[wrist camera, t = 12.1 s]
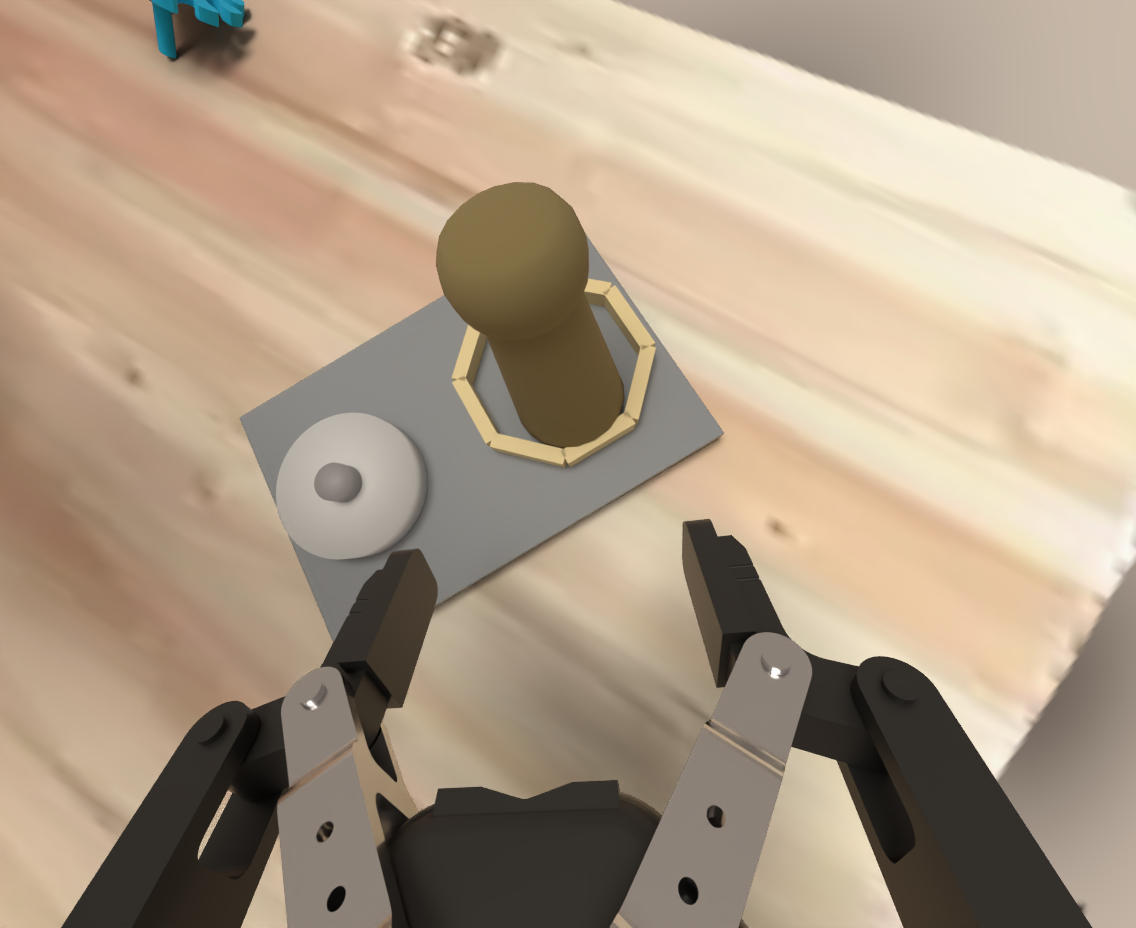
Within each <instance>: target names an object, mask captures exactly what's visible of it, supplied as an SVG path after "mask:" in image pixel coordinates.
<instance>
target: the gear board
mask: <svg viewBox="0 0 1136 928" xmlns="http://www.w3.org/2000/svg"><path fill="white" fill-rule="evenodd" d="M586 237H587V235H586ZM587 243H588V248H589V274H588V283H587V285H586V288H585V291H584V293H585V296H586V298H587V300H588V303H589V305H590V307H591V310H592V312H593V314H594V317H595V319H596V321H597V324H598V326H599V328H600V331H601V333H602V335H603V337H604V340H605V342H606V344H607V347H608V349H609V351H610V354H611V356H612V358H613V361H614V363H615V365H616V368H617V370H618V372H619V375H620V377H621V379H622V382H623V384H624V402H623V405H622V408H621V411H620V414H619V416H618V418H617V419H616V420H615V422H614V423H613V424H612V426H611V427H610V429H609V430H607V431H606V432H605V433H603V434H602V435H601V436H599V437H598V438H597V439H595V440H593V441H591V442H588V443H585V444H583V445H580V446H576V447H563V448H559V447H555V446H551V445H546V444H543V443H542V442H540V441H538V440H537V439H535V438H534V437H532V436H531V435H530V434H529V433H528V432H527V430H526V429H525V428H524V426H523V425H522V424H521V421H520V419H519V416H518V414H517V411H516V409H515V406H514V404H513V401H512V399H511V396H510V394H509V391H508V389H507V386H506V384H505V381H504V379H503V376H502V374H501V372H500V369H499V367H498V364H497V362H496V359H495V357H494V354H493V352H492V349H491V347H490V344H489V342H488V339H487V337H486V335H484V334H482V333H480V332H478V331H476V330H475V329H473V328H472V327H471V326H469V325H468V324H467V323H466V322H464V321H463V319H462V318H461V317H460V316H459V314H458V313H457V312H456V311H455V310H454V308H453V307H452V306H451V304H450V303H449V301H448V300H447V298H446V297H445V295H444V296H442V297H440V298H439V299H437V300H435V301H434V302H432V303H430V304H429V305H427V306H425V307H424V308H422V309H420V310H419V311H417V312H415V313H414V314H412V315H410V316H409V317H407V318H405V319H404V320H402V321H400V322H399V323H397V324H395V325H394V326H392V327H390V328H389V329H387V330H385V331H384V332H382V333H380V334H379V335H377V336H375V337H374V338H372V339H370V340H369V341H367V342H365V343H364V344H362V345H360V346H358V347H357V348H355V349H353V350H352V351H350V352H348V353H347V354H345V355H343V356H342V357H340V358H338V359H337V360H335V361H333V362H332V363H330V364H328V365H327V366H325V367H323V368H322V369H320V370H318V371H317V372H315V373H313V374H312V375H310V376H308V377H307V378H305V379H303V380H302V381H300V382H298V383H297V384H295V385H293V386H292V387H290V388H288V389H287V390H285V391H283V392H282V393H280V394H278V395H277V396H275V397H273V398H272V399H270V400H268V401H267V402H265V403H263V404H261V405H260V406H258V407H256V408H255V409H253V410H251V411H250V412H248V413H246V414H245V415H243V416H241V417H240V420H241V423H242V425H243V428H244V430H245V432H246V435H247V437H248V439H249V442H250V444H251V447H252V449H253V451H254V454H255V456H256V459H257V461H258V463H259V466H260V468H261V471H262V473H263V475H264V478H265V480H266V483H267V485H268V487H269V490H270V492H271V495H272V497H273V499H274V502H275V504H276V506H277V509H278V514H279V517H280V520H281V522H282V524H283V526H284V528H285V530H286V532H287V533H288V535H289V538H290V540H291V542H292V545H293V547H294V550H295V552H296V554H297V557H298V559H299V562H300V564H301V566H302V569H303V571H304V573H305V576H306V578H307V581H308V583H309V585H310V588H311V590H312V593H313V595H314V597H315V600H316V602H317V605H318V607H319V609H320V612H321V614H322V617H323V619H324V621H325V624H326V626H327V629H328V631H329V633H330V636H331V638H332V641H333V643H334V641H335V639H336V637H337V635H338V633H339V631H340V629H341V627H342V625H343V623H344V621H345V619H346V617H347V616H349V611H350V610H351V608H352V606H353V604H354V603H356V598H357V596H358V594H359V592H360V590H361V588H362V586H363V584H364V583H365V582H366V581H367V580H368V579H369V578H370V577H371V576H372V575H373V574H374V573H375V571H376V570H381V569H383V568H384V566H385V564H386V561H387V559H388V557H389V555H390V554H391V553H392V552H393V551H399V550H408V549H420V550H421V551H422V553H423V555H424V557H425V559H426V561H427V563H428V565H429V567H430V569H431V571H432V573H433V575H434V577H435V579H436V582H437V586H438V596H437V601H436V604H435V607H436V606H438V605H439V604H441V603H443V602H444V601H446V600H448V599H449V598H451V597H453V596H454V595H456V594H458V593H459V592H461V591H463V590H464V589H466V588H468V587H469V586H471V585H473V584H475V583H476V582H478V581H480V580H481V579H483V578H485V577H486V576H488V575H490V574H491V573H493V572H495V571H496V570H498V569H500V568H501V567H503V566H505V565H506V564H508V563H510V562H511V561H513V560H515V559H517V558H518V557H520V556H522V555H523V554H525V553H527V552H528V551H530V550H532V549H533V548H535V547H537V546H538V545H540V544H542V543H543V542H545V541H547V540H548V539H550V538H552V537H553V536H555V535H557V534H559V533H560V532H562V531H564V530H565V529H567V528H569V527H570V526H572V525H574V524H575V523H577V522H579V521H580V520H582V519H584V518H585V517H587V516H589V515H590V514H592V513H594V512H595V511H597V510H599V509H600V508H602V507H604V506H606V505H607V504H609V503H611V502H612V501H614V500H616V499H617V498H619V497H621V496H622V495H624V494H626V493H627V492H629V491H631V490H632V489H634V488H636V487H637V486H639V485H641V484H642V483H644V482H646V481H648V480H649V479H651V478H653V477H654V476H656V475H658V474H659V473H661V472H663V471H664V470H666V469H668V468H669V467H671V466H673V465H674V464H676V463H678V462H679V461H681V460H683V459H684V458H686V457H688V456H690V455H691V454H693V453H695V452H696V451H698V450H700V449H701V448H703V447H705V446H706V445H708V444H710V443H711V442H713V441H715V440H716V439H718V438H719V437H720V436H722V435H723V434H724V432H723V431H722V429H721V428H720V426H719V425H718V423H717V422H716V420H715V419H714V418H713V416H712V415H711V413H710V412H709V410H708V409H707V408H706V406H705V405H704V403H703V402H702V400H701V399H700V398H699V396H698V395H697V393H696V392H695V390H694V389H693V387H692V386H691V385H690V383H689V382H688V380H687V379H686V377H685V376H684V375H683V373H682V372H681V370H680V369H679V367H678V366H677V365H676V363H675V362H674V360H673V359H672V357H671V356H670V355H669V353H668V352H667V350H666V349H665V347H664V346H663V344H662V343H661V342H660V340H659V339H658V337H657V336H656V334H655V333H654V332H653V330H652V329H651V327H650V326H649V324H648V323H647V322H646V320H645V319H644V317H643V316H642V314H641V313H640V311H639V310H638V309H637V307H636V306H635V304H634V303H633V301H632V300H631V299H630V297H629V296H628V294H627V293H626V291H625V290H624V289H623V287H622V286H621V284H620V283H619V281H618V280H617V278H616V277H615V276H614V274H613V273H612V271H611V270H610V268H609V267H608V266H607V264H606V263H605V261H604V260H603V258H602V257H601V256H600V254H599V253H598V251H597V250H596V248H595V247H594V245H593V244H592V243H591V241H590V240H589V238H588V237H587Z"/></svg>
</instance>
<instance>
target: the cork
mask: <svg viewBox="0 0 1136 928" xmlns="http://www.w3.org/2000/svg"><path fill="white" fill-rule="evenodd" d="M436 267H437V271H438V275H439V280H440V283H441V286H442V289H443V292H444V295H445V297H446V298H447V300H448V301H449V303H450V304H451V306H452V307H453V308H454V310H455V311H456V312H457V313H458V314H459V316H460V317H461V318H462V319H463V321H464V322H466V323H467V324H468V325H469V326H471V327H472V328H473V329H475V330H476V331H478V332H480V333H482V334H484V335H486V337H487V339H488V342H489V344H490V347H491V349H492V352H493V354H494V357H495V359H496V362H497V364H498V367H499V369H500V372H501V374H502V376H503V379H504V381H505V384H506V386H507V389H508V391H509V394H510V396H511V399H512V401H513V404H514V406H515V409H516V411H517V414H518V416H519V419H520V421H521V424H522V425H523V426H524V428H525V429H526V430H527V432H528V433H529V434H530V435H531V436H532V437H534V438H535V439H537V440H538V441H540V442H542V443H543V444H546V445H551V446H555V447H559V448H563V447H576V446H580V445H583V444H585V443H588V442H591V441H593V440H595V439H597V438H598V437H599V436H601V435H602V434H603V433H605V432H606V431H607V430H609V429H610V427H611V426H612V424H613V423H614V422H615V420H616V419H617V418H618V416H619V414H620V411H621V408H622V405H623V402H624V384H623V382H622V379H621V377H620V375H619V372H618V370H617V368H616V365H615V363H614V361H613V358H612V356H611V354H610V351H609V349H608V347H607V344H606V342H605V340H604V337H603V335H602V333H601V331H600V328H599V326H598V324H597V321H596V319H595V317H594V314H593V312H592V310H591V307H590V305H589V303H588V300H587V298H586V296H585V293H584V291H585V288H586V285H587V283H588V274H589V248H588V243H587V237H586V234H585V232H584V230H583V228H582V226H581V224H580V222H579V220H578V218H577V216H576V214H575V212H574V210H573V208H572V207H571V206H570V205H569V204H568V203H567V202H566V201H565V200H563V199H562V198H561V197H560V196H559V195H557V194H556V193H555V192H554V191H552V190H551V189H550V188H548V187H545V186H542V185H539V184H536V183H523V182H514V183H508V184H504V185H499V186H494V187H492V188H489V189H487V190H485V191H483V192H480V193H478V194H476V195H475V196H474V197H472V198H471V199H469V200H468V201H467V202H465V203H464V204H462V205H461V206H460V207H459V208H458V209H457V210H456V212H455V213H454V214H453V215H452V216H451V217H450V218H449V219H448V220H447V222H446V224H445V226H444V228H443V230H442V232H441V234H440V236H439V241H438V247H437V257H436Z"/></svg>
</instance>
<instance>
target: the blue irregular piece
mask: <svg viewBox="0 0 1136 928" xmlns="http://www.w3.org/2000/svg"><path fill="white" fill-rule="evenodd" d="M150 1H151V2H152V5H153V12H154V19H155V26H156V33H157V39H158V46H159V51H160V52H161V53H162V54H164V55H166V56H168V57H171V58H177V54H176V46H175V38H174V30H173V21H172V13H171V12H173V13H176V14H177V13H178V4H179V3H185V4H188V5H190V6H192V7H194V8H195V16H196V18H197V19H199V20H200V21H202V22H205V23H207V24H210V25H213V26H216V27H219V16H218V13H219V14H220V16H221V18H222V20H223V21H224V22H226V23H227V24H229V25H231V26H234V27H243V18H244V2H243V1H242V0H150Z"/></svg>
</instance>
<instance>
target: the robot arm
mask: <svg viewBox="0 0 1136 928" xmlns="http://www.w3.org/2000/svg"><path fill="white" fill-rule="evenodd" d="M682 560H683V569H684V574H685V578H686V582H687V585H688V589H689V592H690V596H691V599H692V603H693V606H694V610H695V613H696V617H697V620H698V624H699V627H700V631H701V634H702V638H703V641H704V645H705V648H706V652H707V656H708V659H709V663H710V666H711V670H712V673H713V677H714V680H715V684H716V687H717V688H721V687H725V688H724V690H723V693H722V695H721V697H720V699H719V702H718V704H717V706H716V709H715V711H714V713H713V715H712V717H711V719H710V720H709V721H707V722H706V723H705V725H704V726H703V728H702V730H701V732H700V734H699V736H698V738H697V740H696V742H695V745H694V747H693V749H692V751H691V754H690V756H689V758H688V760H687V763H686V765H685V767H684V769H683V771H682V774H681V776H680V778H679V780H678V783H677V785H676V787H675V789H674V791H673V794H672V796H671V798H670V800H669V803H668V805H667V807H666V809H665V812H664V814H663V816H662V815H661V814H660V813H658V812H657V811H656V810H655V809H654V808H652V807H651V806H649V805H648V804H646V803H644V802H643V801H641V800H639V799H637V798H635V797H632V796H630V795H627V794H623V793H620V789H619V784H618V780H610V781H589V782H572V783H569V784H566V785H564V786H561V787H558V788H556V789H553V790H550V791H548V792H545V793H542V794H540V795H537V796H534V797H532V798H529V799H520V798H517V797H513V796H510V795H507V794H503V793H500V792H497V791H493V790H490V789H487V788H484V787H465V788H444V789H438V792H437V797H436V801H435V804H433V805H431V806H429V807H427V808H425V809H423V810H421V811H420V812H419V811H418V809H417V807H416V805H415V803H414V801H413V799H412V798H411V796H410V794H409V793H408V791H407V788H406V786H405V784H404V781H403V778H402V775H401V772H400V769H399V766H398V763H397V760H396V757H395V754H394V751H393V748H392V745H391V742H390V738H389V735H388V732H387V729H386V726H385V724H384V722H383V721H382V720H383V717H384V714H385V711H386V709H387V708H401V707H403V704H404V700H405V697H406V694H407V691H408V688H409V685H410V682H411V679H412V676H413V673H414V669H415V666H416V663H417V660H418V657H419V654H420V651H421V648H422V645H423V641H424V638H425V635H426V632H427V629H428V626H429V623H430V620H431V617H432V614H433V610H434V607H435V604H436V601H437V596H438V586H437V582H436V579H435V577H434V575H433V573H432V571H431V569H430V567H429V565H428V563H427V561H426V559H425V557H424V555H423V553H422V551H421V550H420V549H408V550H399V551H393V552H392V553H391V554H390V555H389V557H388V559H387V561H386V564H385V566H384V568H383V569H381V570H376V571H375V573H374V574H373V575H372V576H371V577H370V578H369V579H368V580H367V581H366V582H365V583H364V584H363V586H362V588H361V590H360V592H359V594H358V596H357V598H356V603H354V604H353V606H352V608H351V610H350V611H349V616H347V617H346V619H345V621H344V623H343V625H342V627H341V629H340V631H339V633H338V635H337V637H336V639H335V641H334V643H333V644H332V646H331V648H330V650H329V652H328V654H327V656H326V658H325V660H324V662H323V664H322V665H321V667H320V668H318V669H315V670H313V671H311V672H309V673H308V674H306V675H305V676H303V677H302V678H301V679H300V680H298V681H297V682H296V683H295V684H294V686H293V687H292V688H291V689H290V690H289V692H288V693H287V695H286V696H285V697H282V698H280V699H277V700H275V701H272V702H270V703H267V704H264V705H262V706H259V707H257V708H254V709H252V710H251V709H250V708H249V707H247V706H246V705H245V704H244V703H242V702H240V701H230V702H226V703H224V704H221V705H219V706H217V707H215V708H214V709H212V710H210V711H209V712H208V713H206V714H205V715H204V716H203V717H202V718H200V719H199V720H198V721H197V722H196V723H195V724H194V725H193V727H192V728H191V729H190V730H189V732H188V733H187V734H186V736H185V737H184V739H183V740H182V742H181V743H180V745H179V747H178V748H177V750H176V751H175V753H174V754H173V756H172V757H171V759H170V760H169V762H168V764H167V765H166V767H165V768H164V770H163V771H162V773H161V774H160V776H159V777H158V779H157V781H156V782H155V784H154V785H153V787H152V788H151V790H150V791H149V793H148V794H147V796H146V797H145V799H144V801H143V802H142V804H141V805H140V807H139V808H138V810H137V811H136V813H135V814H134V816H133V818H132V819H131V821H130V822H129V824H128V825H127V827H126V828H125V830H124V831H123V833H122V834H121V836H120V838H119V839H118V841H117V842H116V844H115V845H114V847H113V848H112V850H111V851H110V853H109V855H108V856H107V858H106V859H105V861H104V862H103V864H102V865H101V867H100V868H99V870H98V872H97V873H96V875H95V876H94V878H93V879H92V881H91V882H90V884H89V885H88V887H87V888H86V890H85V892H84V893H83V895H82V896H81V898H80V899H79V901H78V902H77V904H76V905H75V907H74V909H73V910H72V912H71V913H70V915H69V916H68V918H67V919H66V921H65V922H64V924H63V926H62V927H61V928H241V925H242V923H243V920H244V918H245V916H246V913H247V911H248V908H249V906H250V903H251V901H252V898H253V896H254V893H255V891H256V888H257V886H258V884H259V881H260V879H261V876H262V874H263V871H264V869H265V866H266V864H267V861H268V859H269V856H270V854H271V852H272V849H273V847H274V844H275V842H276V839H277V837H278V834H279V837H280V848H281V859H282V870H283V881H284V892H285V903H286V914H287V925H288V928H748V927H747V926H746V924H745V923H744V922H743V920H742V919H741V917H742V914H743V910H744V907H745V904H746V900H747V897H748V893H749V890H750V887H751V883H752V880H753V877H754V873H755V870H756V866H757V863H758V860H759V856H760V853H761V850H762V846H763V843H764V839H765V836H766V833H767V829H768V826H769V822H770V819H771V816H772V812H773V809H774V806H775V802H776V799H777V795H778V792H779V789H780V785H781V782H782V778H783V774H784V771H785V765H786V762H787V758H788V755H789V752H790V748H791V747H794V748H797V749H801V750H804V751H807V752H811V753H814V754H817V755H821V756H824V757H828V758H831V759H834V760H837V762H838V765H839V767H840V770H841V772H842V775H843V777H844V780H845V782H846V785H847V787H848V790H849V792H850V795H851V797H852V800H853V802H854V805H855V807H856V810H857V812H858V815H859V817H860V820H861V822H862V825H863V827H864V830H865V832H866V835H867V837H868V840H869V842H870V845H871V847H872V850H873V852H874V855H875V857H876V860H877V862H878V865H879V867H880V870H881V872H882V875H883V877H884V880H885V882H886V885H887V887H888V890H889V892H890V895H891V897H892V900H893V902H894V905H895V907H896V910H897V912H898V915H899V917H900V920H901V922H902V925H903V927H904V928H1092V927H1091V925H1090V923H1089V922H1088V920H1087V919H1086V917H1085V916H1084V914H1083V913H1082V911H1081V910H1080V908H1079V907H1078V905H1077V903H1076V902H1075V900H1074V899H1073V897H1072V896H1071V894H1070V893H1069V891H1068V890H1067V888H1066V887H1065V885H1064V884H1063V882H1062V881H1061V879H1060V877H1059V876H1058V874H1057V873H1056V871H1055V870H1054V868H1053V867H1052V865H1051V864H1050V862H1049V860H1048V859H1047V857H1046V856H1045V854H1044V853H1043V851H1042V850H1041V848H1040V847H1039V845H1038V844H1037V842H1036V840H1035V839H1034V837H1033V836H1032V834H1031V833H1030V831H1029V830H1028V829H1027V827H1026V825H1025V824H1024V822H1023V821H1022V819H1021V818H1020V816H1019V814H1018V813H1017V811H1016V810H1015V808H1014V807H1013V805H1012V804H1011V802H1010V801H1009V799H1008V797H1007V796H1006V794H1005V793H1004V791H1003V790H1002V788H1001V787H1000V785H999V784H998V782H997V781H996V779H995V777H994V776H993V774H992V773H991V771H990V770H989V768H988V767H987V765H986V764H985V762H984V761H983V759H982V758H981V756H980V754H979V753H978V751H977V750H976V748H975V747H974V745H973V744H972V742H971V741H970V739H969V738H968V736H967V734H966V733H965V731H964V730H963V728H962V727H961V725H960V724H959V722H958V721H957V719H956V718H955V716H954V714H953V713H952V711H951V710H950V708H949V707H948V705H947V704H946V702H945V701H944V699H943V698H942V696H941V695H940V693H939V691H938V690H937V688H936V687H935V686H934V684H933V683H932V682H931V681H930V680H929V679H928V678H927V677H926V676H925V675H924V674H923V673H921V672H920V671H919V670H917V669H916V668H914V667H913V666H911V665H909V664H907V663H905V662H903V661H900V660H897V659H894V658H890V657H882V656H878V657H871V658H868V659H866V660H865V661H863V662H862V663H861V664H860V666H854V665H850V664H845V663H841V662H836V661H832V660H827V659H823V658H820V657H817V656H815V655H812V654H810V653H808V652H807V651H805V650H803V649H802V648H801V647H800V646H799V645H798V644H796V643H795V642H794V641H792V640H791V639H790V638H789V636H788V635H787V634H786V632H785V630H784V629H783V627H782V624H781V622H780V620H779V618H778V616H777V614H776V612H775V610H774V607H773V605H772V603H771V601H770V599H769V597H768V595H767V593H766V591H765V588H764V586H763V584H762V582H761V580H759V576H758V574H757V571H756V569H755V567H753V563H752V561H751V559H750V557H749V555H748V552H747V550H746V548H745V547H744V546H743V545H742V544H740V543H739V542H738V541H737V540H736V539H735V538H734V537H733V536H732V535H729V536H719V537H718V536H717V534H716V531H715V529H714V527H713V524H712V522H711V520H710V519H704V520H695V521H685V522H683V538H682ZM228 790H229V791H230V792H232V795H231V797H230V799H229V801H228V803H227V805H226V807H225V809H224V811H223V813H222V815H221V817H220V819H219V821H218V823H217V824H216V826H215V828H214V830H213V832H212V834H211V836H210V838H209V840H208V842H207V844H206V846H205V848H204V850H203V852H202V854H201V856H200V858H199V860H198V850H199V846H200V843H201V841H202V839H203V837H204V835H205V833H206V831H207V829H208V827H209V825H210V823H211V821H212V819H213V817H214V816H215V814H216V812H217V810H218V808H219V806H220V804H221V802H222V800H223V798H224V796H225V794H226V792H227V791H228Z"/></svg>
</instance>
